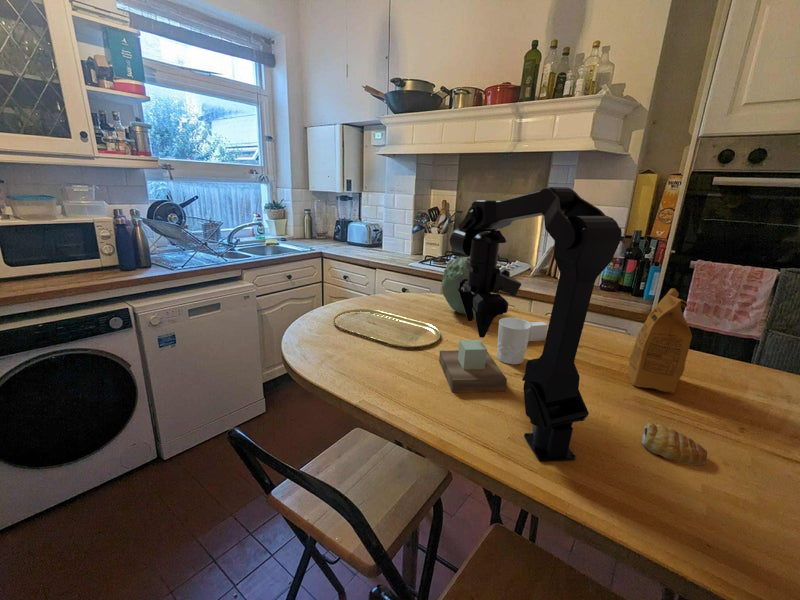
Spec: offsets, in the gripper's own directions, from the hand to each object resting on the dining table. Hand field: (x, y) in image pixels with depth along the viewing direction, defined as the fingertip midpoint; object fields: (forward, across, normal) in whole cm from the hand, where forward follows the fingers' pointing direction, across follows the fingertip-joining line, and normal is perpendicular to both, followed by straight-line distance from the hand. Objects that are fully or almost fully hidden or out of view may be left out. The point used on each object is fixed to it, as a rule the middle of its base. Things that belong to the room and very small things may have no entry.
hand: (475, 328), depth 84 cm
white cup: (+12, +8, -13) cm, 19 cm away
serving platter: (+13, +28, +18) cm, 36 cm away
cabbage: (+12, +42, -10) cm, 45 cm away
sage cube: (+9, 0, 0) cm, 9 cm away
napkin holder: (+13, +20, -22) cm, 32 cm away
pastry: (+12, -26, -28) cm, 41 cm away
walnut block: (+12, 0, 0) cm, 12 cm away
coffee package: (+12, -4, -43) cm, 45 cm away
